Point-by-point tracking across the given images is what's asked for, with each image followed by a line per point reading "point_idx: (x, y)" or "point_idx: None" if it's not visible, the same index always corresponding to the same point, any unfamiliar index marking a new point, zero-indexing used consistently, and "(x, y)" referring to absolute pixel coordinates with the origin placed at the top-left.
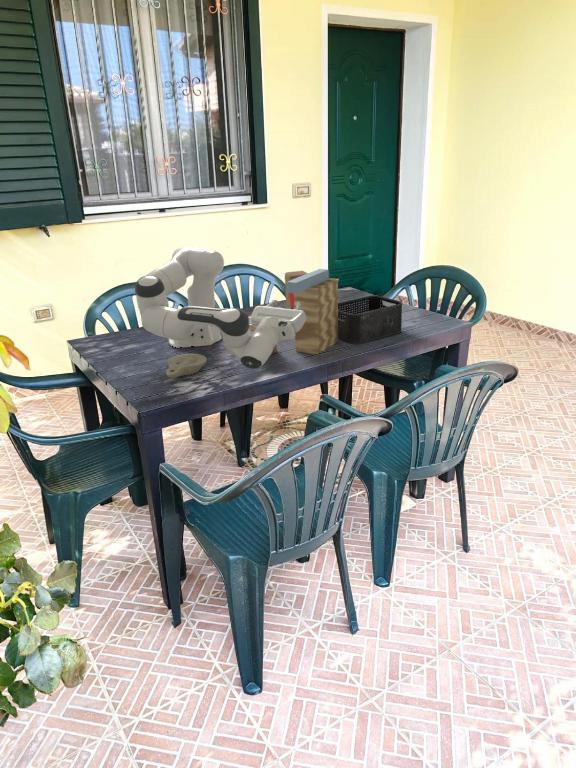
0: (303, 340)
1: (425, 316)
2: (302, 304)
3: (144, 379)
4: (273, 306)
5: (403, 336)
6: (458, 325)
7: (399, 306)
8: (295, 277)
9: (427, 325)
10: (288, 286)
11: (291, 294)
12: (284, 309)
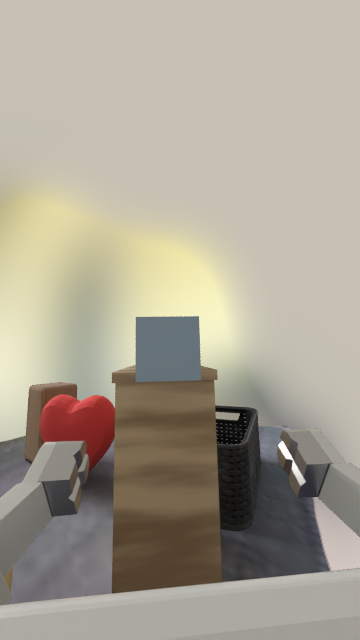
0: None
1: (231, 428)
2: (152, 441)
3: None
4: (42, 527)
5: (277, 469)
6: None
7: (257, 415)
8: (52, 390)
9: (260, 440)
10: (147, 342)
11: (47, 420)
12: (338, 619)
